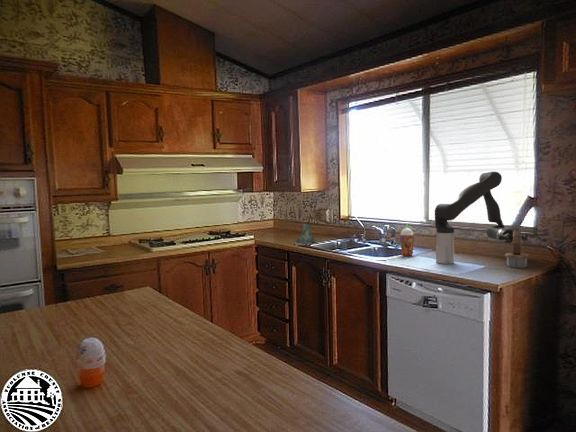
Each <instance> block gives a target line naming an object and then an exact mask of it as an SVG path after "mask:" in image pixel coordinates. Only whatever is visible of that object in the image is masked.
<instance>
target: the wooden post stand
mask: <svg viewBox="0 0 576 432" xmlns="http://www.w3.org/2000/svg"><path fill="white" fill-rule="evenodd" d="M521 234H522V231H521V230H513V242H512V252H506V253H504V257H505V258H507V257H508V258H517V259H523V258H527V259H528V258H529V257H530V256H529V254H528V253H524V252H523V253H522V252H521V250H522V247H521V246H522V240H521Z"/></svg>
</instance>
